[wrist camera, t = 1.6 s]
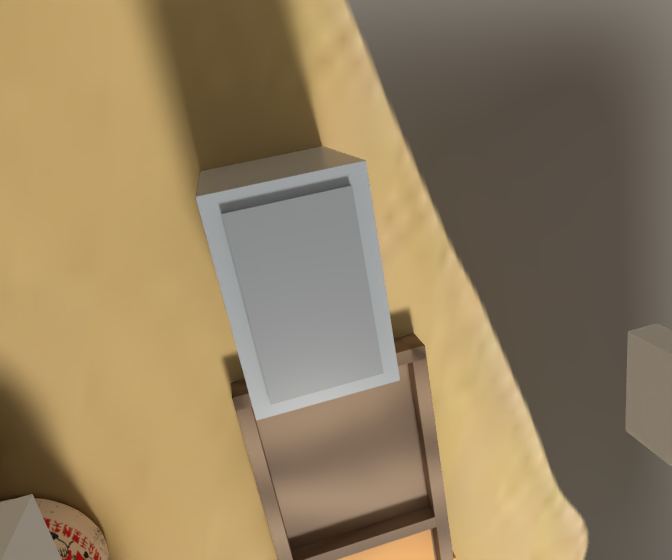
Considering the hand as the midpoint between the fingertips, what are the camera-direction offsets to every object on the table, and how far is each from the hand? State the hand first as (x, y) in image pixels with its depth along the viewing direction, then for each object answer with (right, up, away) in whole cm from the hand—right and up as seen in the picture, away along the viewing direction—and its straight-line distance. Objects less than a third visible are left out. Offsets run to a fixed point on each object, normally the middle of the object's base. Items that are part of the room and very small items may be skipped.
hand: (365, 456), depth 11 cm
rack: (+1, -12, +22) cm, 25 cm away
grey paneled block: (-3, +6, +16) cm, 17 cm away
